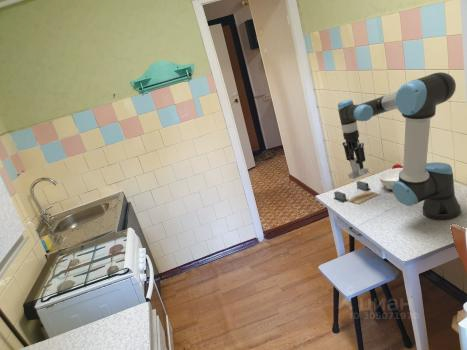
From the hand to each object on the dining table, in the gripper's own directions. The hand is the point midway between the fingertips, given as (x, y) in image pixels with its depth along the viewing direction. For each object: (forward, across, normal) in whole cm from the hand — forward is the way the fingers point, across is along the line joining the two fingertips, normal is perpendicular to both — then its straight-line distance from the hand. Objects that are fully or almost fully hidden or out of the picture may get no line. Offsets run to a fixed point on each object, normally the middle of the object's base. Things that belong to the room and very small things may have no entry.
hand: (358, 173), depth 196 cm
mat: (+14, 0, 0) cm, 14 cm away
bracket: (+14, +6, -31) cm, 34 cm away
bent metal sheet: (+1, 0, 0) cm, 1 cm away
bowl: (+14, -6, -20) cm, 25 cm away
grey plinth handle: (+14, +8, 0) cm, 16 cm away
